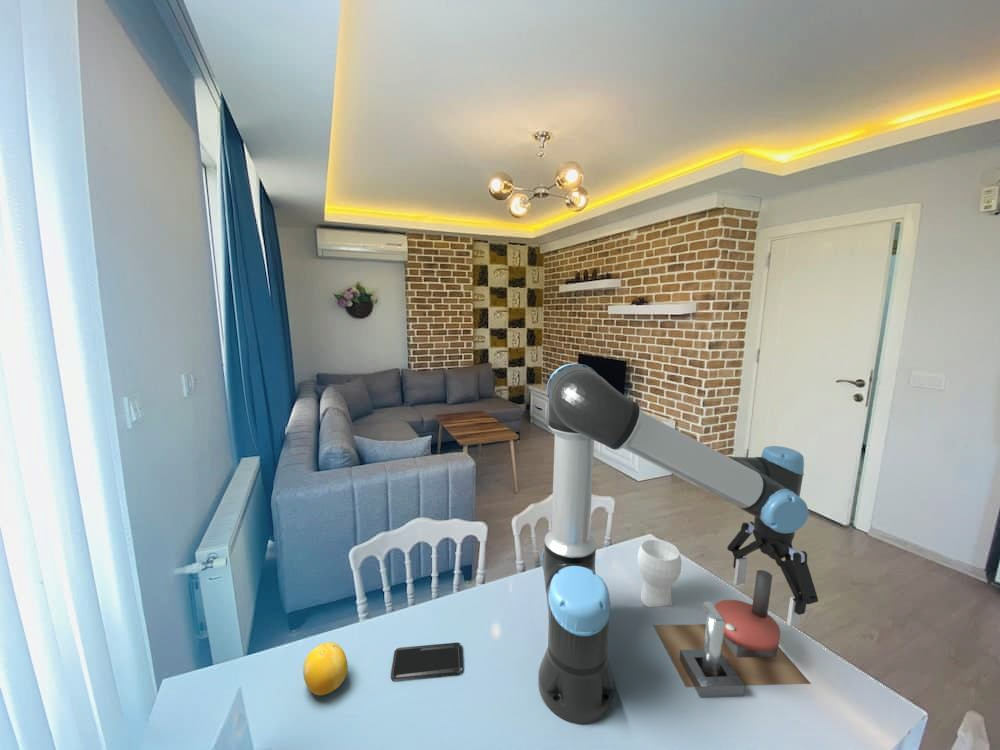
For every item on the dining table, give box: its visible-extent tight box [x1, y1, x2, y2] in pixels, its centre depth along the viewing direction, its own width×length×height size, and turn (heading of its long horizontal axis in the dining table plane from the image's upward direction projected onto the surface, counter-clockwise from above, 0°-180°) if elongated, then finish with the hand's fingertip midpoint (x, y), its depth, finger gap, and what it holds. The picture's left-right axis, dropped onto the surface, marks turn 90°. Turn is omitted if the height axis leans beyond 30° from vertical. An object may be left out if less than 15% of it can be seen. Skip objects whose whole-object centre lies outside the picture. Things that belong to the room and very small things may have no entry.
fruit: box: [302, 641, 349, 696], centre depth 82 cm, size 9×8×8 cm
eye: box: [679, 649, 745, 698], centre depth 83 cm, size 9×9×2 cm
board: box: [653, 623, 811, 688], centre depth 90 cm, size 26×16×4 cm, turn 92°
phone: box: [390, 642, 464, 683], centre depth 88 cm, size 8×1×15 cm
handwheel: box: [714, 569, 781, 652], centre depth 91 cm, size 13×13×12 cm
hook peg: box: [701, 601, 725, 677], centre depth 83 cm, size 3×5×15 cm, turn 2°
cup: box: [637, 538, 683, 608], centre depth 106 cm, size 11×11×15 cm
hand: (764, 602), depth 93 cm, fingers open, 13 cm apart
